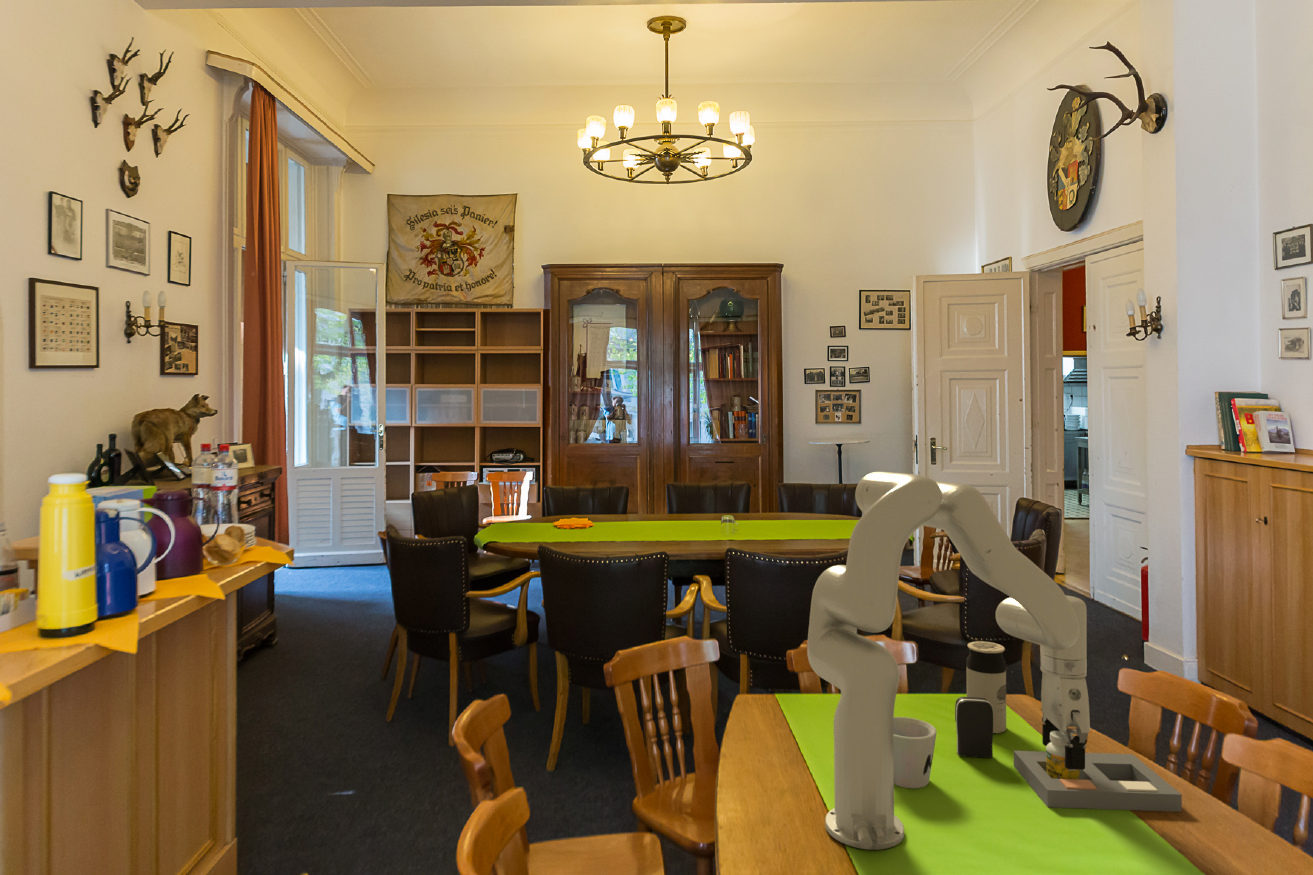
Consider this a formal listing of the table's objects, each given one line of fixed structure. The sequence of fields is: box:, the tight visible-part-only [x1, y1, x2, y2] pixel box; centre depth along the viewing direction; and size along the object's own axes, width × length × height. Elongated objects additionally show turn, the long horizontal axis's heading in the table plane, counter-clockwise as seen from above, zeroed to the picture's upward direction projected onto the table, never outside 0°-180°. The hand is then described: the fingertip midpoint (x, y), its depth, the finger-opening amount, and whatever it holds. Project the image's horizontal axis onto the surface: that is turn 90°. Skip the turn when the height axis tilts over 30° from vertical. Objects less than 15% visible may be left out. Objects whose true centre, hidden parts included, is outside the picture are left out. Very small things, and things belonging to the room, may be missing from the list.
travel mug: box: [965, 641, 1007, 734], centre depth 167 cm, size 8×8×18 cm
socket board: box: [1013, 750, 1183, 813], centre depth 139 cm, size 16×22×3 cm
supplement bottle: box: [1045, 731, 1079, 779], centre depth 140 cm, size 5×5×10 cm
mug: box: [893, 716, 937, 789], centre depth 144 cm, size 10×15×10 cm
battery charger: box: [954, 696, 994, 759], centre depth 154 cm, size 7×4×11 cm, turn 79°
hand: (1062, 756), depth 140 cm, fingers open, 9 cm apart
